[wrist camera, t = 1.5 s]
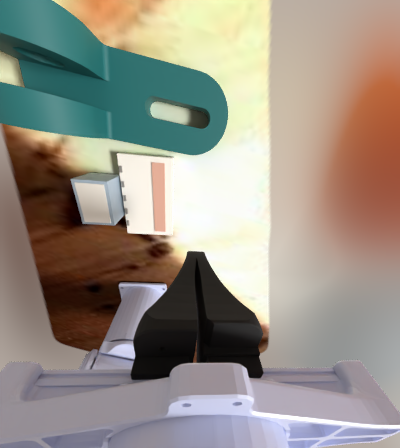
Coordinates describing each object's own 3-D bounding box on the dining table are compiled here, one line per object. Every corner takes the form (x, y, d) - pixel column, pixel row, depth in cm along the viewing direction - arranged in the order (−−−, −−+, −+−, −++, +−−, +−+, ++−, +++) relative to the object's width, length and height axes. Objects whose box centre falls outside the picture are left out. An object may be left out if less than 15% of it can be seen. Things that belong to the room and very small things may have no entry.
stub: (126, 212, 22) (114, 225, 18) (99, 211, 21) (82, 224, 18) (121, 174, 19) (106, 182, 16) (90, 172, 19) (69, 179, 16)
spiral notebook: (173, 230, 23) (172, 235, 22) (130, 228, 23) (127, 233, 22) (174, 157, 19) (172, 158, 18) (121, 152, 18) (116, 153, 17)
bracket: (51, 125, 17) (-46, 114, 10) (34, 36, 14) (-121, -67, 7) (215, 158, 19) (228, 168, 12) (231, 88, 16) (260, 49, 9)
